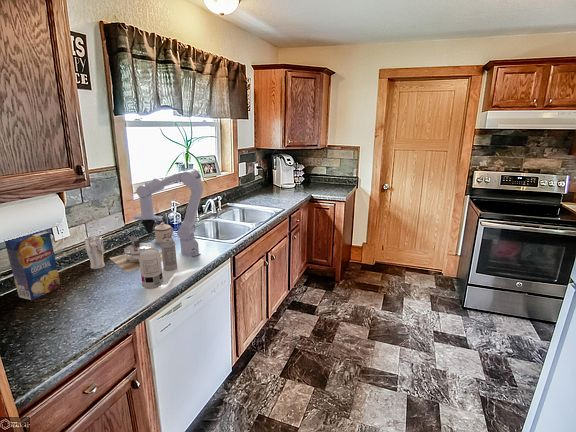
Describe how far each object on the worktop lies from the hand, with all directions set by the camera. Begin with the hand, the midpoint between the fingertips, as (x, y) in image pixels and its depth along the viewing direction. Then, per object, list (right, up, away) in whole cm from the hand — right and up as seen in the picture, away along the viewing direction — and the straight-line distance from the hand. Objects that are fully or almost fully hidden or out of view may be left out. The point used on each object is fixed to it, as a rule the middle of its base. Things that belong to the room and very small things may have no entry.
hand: (149, 233), depth 171 cm
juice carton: (-29, -22, -37) cm, 52 cm away
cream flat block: (-1, -12, -8) cm, 14 cm away
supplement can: (+15, -20, -31) cm, 40 cm away
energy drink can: (+17, -16, -18) cm, 30 cm away
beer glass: (-17, -16, -16) cm, 29 cm away
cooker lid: (-3, -7, -7) cm, 10 cm away
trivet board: (-1, -13, -7) cm, 15 cm away
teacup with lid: (+2, -6, +18) cm, 19 cm away
